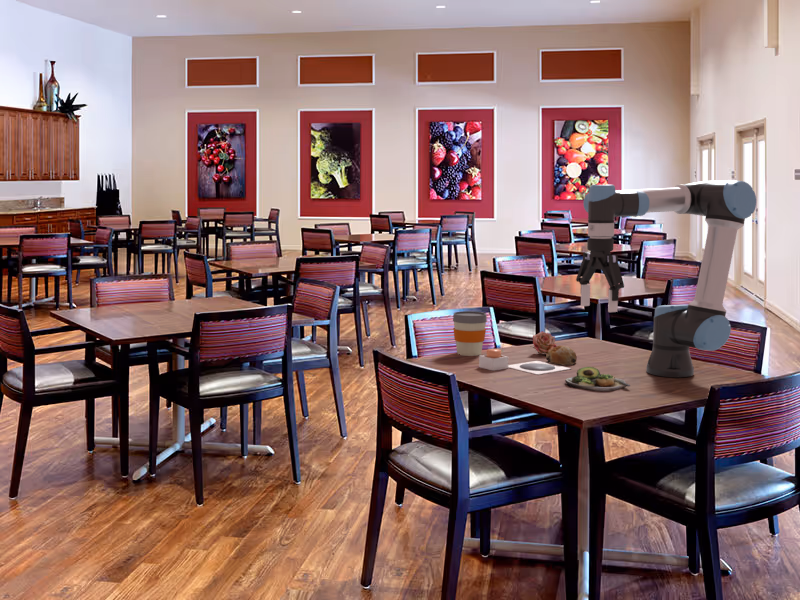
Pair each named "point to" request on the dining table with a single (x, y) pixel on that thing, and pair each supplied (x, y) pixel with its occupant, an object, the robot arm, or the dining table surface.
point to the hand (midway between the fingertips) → (598, 308)
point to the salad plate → (595, 380)
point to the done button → (493, 353)
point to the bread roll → (561, 356)
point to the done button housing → (493, 362)
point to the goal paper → (537, 367)
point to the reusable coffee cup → (469, 332)
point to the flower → (543, 342)
